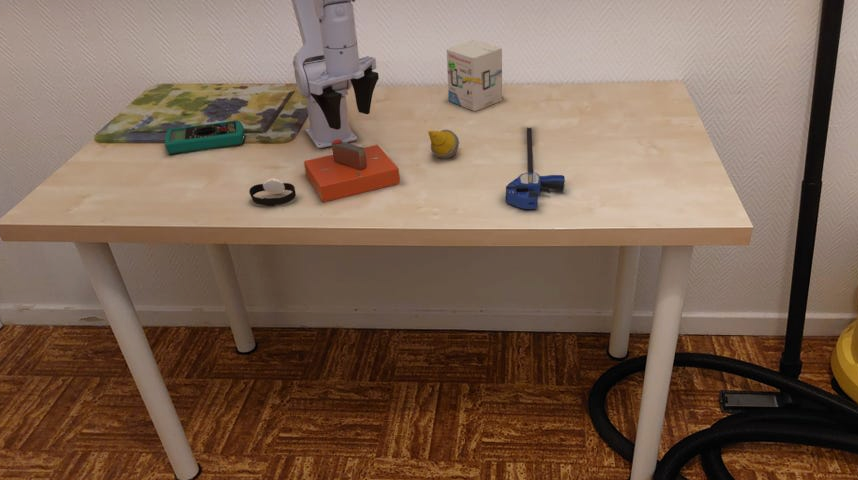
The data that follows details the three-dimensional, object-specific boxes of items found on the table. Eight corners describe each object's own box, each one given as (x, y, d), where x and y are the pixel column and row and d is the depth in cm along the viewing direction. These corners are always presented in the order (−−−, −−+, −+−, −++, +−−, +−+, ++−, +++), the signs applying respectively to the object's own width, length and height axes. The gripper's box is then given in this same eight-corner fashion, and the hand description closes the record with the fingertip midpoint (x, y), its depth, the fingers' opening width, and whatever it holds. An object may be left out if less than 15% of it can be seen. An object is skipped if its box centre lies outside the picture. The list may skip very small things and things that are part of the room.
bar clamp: (567, 197, 119) (505, 197, 120) (567, 210, 121) (505, 210, 121) (558, 122, 146) (508, 122, 147) (558, 133, 148) (508, 134, 148)
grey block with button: (367, 166, 130) (364, 146, 127) (361, 170, 128) (358, 150, 126) (339, 158, 133) (337, 138, 130) (333, 161, 132) (330, 141, 129)
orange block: (323, 202, 126) (320, 185, 124) (306, 175, 134) (303, 160, 132) (400, 183, 130) (398, 167, 129) (379, 159, 139) (377, 143, 137)
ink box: (447, 101, 161) (445, 48, 154) (476, 90, 165) (474, 38, 159) (474, 112, 155) (473, 57, 149) (503, 100, 160) (503, 47, 153)
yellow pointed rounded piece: (467, 157, 139) (444, 138, 130) (442, 167, 141) (418, 149, 132) (461, 132, 141) (438, 112, 132) (437, 143, 142) (412, 123, 134)
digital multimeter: (245, 145, 146) (242, 131, 144) (167, 156, 143) (163, 142, 141) (245, 130, 152) (242, 117, 150) (169, 140, 149) (165, 127, 147)
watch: (298, 192, 129) (295, 174, 127) (294, 206, 125) (290, 187, 123) (254, 194, 129) (250, 176, 127) (248, 208, 125) (244, 189, 123)
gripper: (327, 60, 116) (338, 140, 124) (386, 35, 126) (393, 110, 133) (295, 53, 120) (308, 131, 127) (355, 29, 129) (364, 103, 137)
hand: (349, 120), depth 131 cm, fingers open, 7 cm apart
